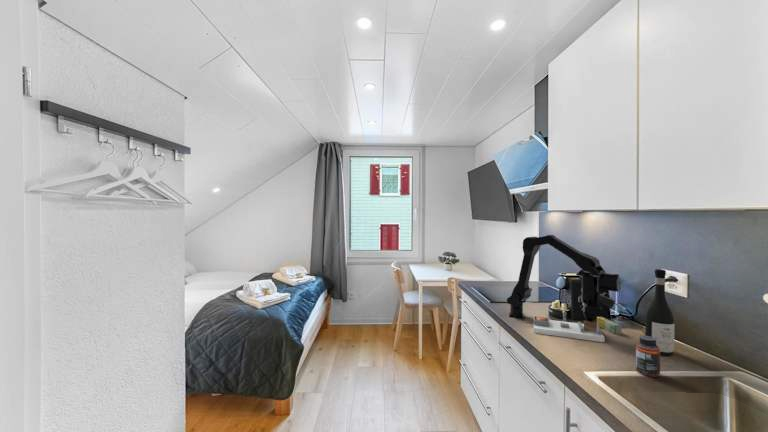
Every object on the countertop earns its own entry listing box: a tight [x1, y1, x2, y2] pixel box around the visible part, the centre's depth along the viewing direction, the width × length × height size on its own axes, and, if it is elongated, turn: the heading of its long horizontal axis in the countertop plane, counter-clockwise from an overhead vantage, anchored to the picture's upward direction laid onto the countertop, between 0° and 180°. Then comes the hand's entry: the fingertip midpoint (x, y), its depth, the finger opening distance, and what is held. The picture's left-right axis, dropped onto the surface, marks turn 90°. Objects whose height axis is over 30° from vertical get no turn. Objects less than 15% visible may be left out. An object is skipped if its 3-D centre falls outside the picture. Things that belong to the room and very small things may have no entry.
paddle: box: [583, 320, 597, 332], centre depth 133 cm, size 1×4×4 cm, turn 66°
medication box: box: [596, 316, 622, 336], centre depth 141 cm, size 12×3×4 cm, turn 1°
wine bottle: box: [644, 268, 675, 356], centre depth 119 cm, size 8×8×30 cm
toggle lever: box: [561, 310, 568, 322], centre depth 140 cm, size 2×2×4 cm
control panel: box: [533, 316, 605, 343], centre depth 139 cm, size 14×25×4 cm, turn 66°
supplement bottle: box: [635, 335, 661, 378], centre depth 103 cm, size 6×6×11 cm
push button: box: [536, 316, 547, 321], centre depth 143 cm, size 4×4×2 cm
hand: (589, 324), depth 135 cm, fingers closed
